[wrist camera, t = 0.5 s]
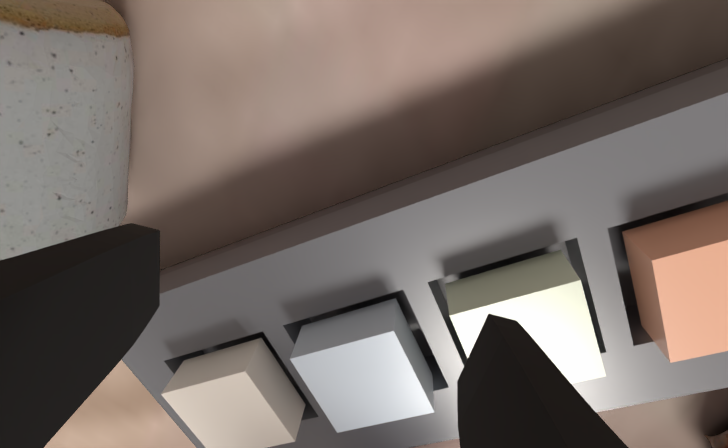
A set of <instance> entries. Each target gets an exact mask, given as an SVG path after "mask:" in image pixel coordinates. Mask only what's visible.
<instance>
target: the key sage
mask: <svg viewBox="0 0 728 448" xmlns="http://www.w3.org/2000/svg"><path fill="white" fill-rule="evenodd" d="M445 286H446V294H447V302H448V309H449V316H450V318H451V321H452V323H453V325H454V328H455V330H456V332H457V335H458V337H459V339H460V342H461V344H462V347H463V349H464V351H465V354H466V356H467V358H468V357H469V355H470V353H471V350H472V348H473V346H474V344H475V342H476V340H477V337H478V335H479V333H480V331H481V329H482V327H483V325H484V322H485V320H486V318H487V316H488V314H492V315H496V316H500V317H504V318H508V319H512V320H516V321H517V322H518V323H519V324H520V325H521V326H522V327H523V328H524V329H525V330H526V331H527V332H528V334H529V335H530V336H531V337H532V338H533V339H534V340H535V342H536V343H537V344H538V345H539V346H540V348H541V349H542V350H543V351H544V352H545V353H546V355H547V356H548V357H549V358H550V359H551V361H552V362H553V363H554V364H555V365H556V367H557V368H558V369H559V370H560V371H561V373H562V374H563V375H564V376H565V377H566V378H567V380H568V381H569V382H570V383H571V384H572V383H577V382H582V381H587V380H591V379H596V378H601V377H606V374H605V370H604V366H603V362H602V358H601V355H600V351H599V347H598V343H597V340H596V336H595V332H594V328H593V324H592V321H591V317H590V313H589V309H588V306H587V302H586V298H585V294H584V290H583V287H582V283H581V280H580V278H579V277H578V275H577V274H576V272H575V271H574V269H573V268H572V266H571V265H570V263H569V262H568V260H567V259H566V257H565V256H564V254H563V253H562V251H561V250H558V251H554V252H551V253H548V254H544V255H541V256H537V257H534V258H531V259H527V260H524V261H520V262H517V263H514V264H510V265H507V266H503V267H500V268H497V269H493V270H490V271H486V272H483V273H480V274H476V275H473V276H469V277H466V278H463V279H459V280H456V281H452V282H449V283H446V284H445Z"/></svg>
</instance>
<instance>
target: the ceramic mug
mask: <svg viewBox="0 0 728 448" xmlns="http://www.w3.org/2000/svg"><path fill="white" fill-rule="evenodd" d="M133 79H134V61H133V53H132V45H131V39H130V34H129V29H128V27H127V25H126V23H125V21H124V19H123V18H122V17H121V15H120V14H119V13H118V12H117V11H116V10H115V9H114V8H113V7H112V6H111V5H109V4H107V3H105V2H104V1H102V0H0V260H4V259H7V258H11V257H15V256H18V255H21V254H25V253H28V252H31V251H35V250H38V249H42V248H45V247H48V246H52V245H55V244H58V243H62V242H65V241H68V240H72V239H75V238H78V237H82V236H85V235H89V234H92V233H95V232H99V231H103V230H106V229H110V228H114V227H118V226H119V225H120V224H121V222H122V221H123V219H124V217H125V215H126V212H127V204H128V170H129V154H130V132H131V106H132V94H133Z"/></svg>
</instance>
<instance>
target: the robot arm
mask: <svg viewBox="0 0 728 448" xmlns="http://www.w3.org/2000/svg"><path fill="white" fill-rule="evenodd" d="M159 306H160V230H156V229H152V228H148V227H144V226H140V225H136V224H132V223H131V224H127V225H122V226H118V227H114V228H110V229H106V230H103V231H99V232H95V233H92V234H89V235H85V236H82V237H78V238H75V239H72V240H68V241H65V242H62V243H58V244H55V245H52V246H48V247H45V248H42V249H38V250H35V251H31V252H28V253H25V254H21V255H18V256H15V257H11V258H7V259H4V260H0V448H44V447H45V445H46V444H47V443H48V442H49V441H50V439H51V438H52V437H53V436H54V435H55V434H56V433H57V432H58V430H59V429H60V428H61V427H62V426H63V425H64V424H65V422H66V421H67V420H68V419H69V418H70V417H71V416H72V415H73V413H74V412H75V411H76V410H77V409H78V408H79V407H80V406H81V404H82V403H83V402H84V401H85V400H86V399H87V398H88V397H89V395H90V394H91V393H92V392H93V391H94V390H95V389H96V388H97V386H98V385H99V384H100V383H101V382H102V381H103V380H104V379H105V377H106V376H107V375H108V374H109V373H110V372H111V371H112V369H113V368H114V367H115V366H116V365H117V364H118V362H119V361H120V360H121V359H122V358H123V357H124V356H125V354H126V353H127V352H128V351H129V350H130V349H131V347H132V346H133V345H134V343H135V342H136V341H137V339H138V338H139V336H140V335H141V333H142V332H143V331H144V329H145V328H146V326H147V325H148V323H149V322H150V320H151V319H152V317H153V315H154V314H155V312H156V311H157V309H158V308H159ZM457 412H458V432H459V440H460V448H628V447H627V446H626V445H625V444H624V443H623V441H622V440H621V439H620V438H619V437H618V436H617V435H616V434H615V433H614V432H613V431H612V430H611V429H610V428H609V426H608V425H607V424H606V423H605V422H604V421H603V420H602V419H601V418H600V416H599V415H598V414H597V413H596V412H595V411H594V410H593V409H592V407H591V406H590V405H589V404H588V403H587V402H586V401H585V399H584V398H583V397H582V396H581V395H580V394H579V393H578V391H577V390H576V389H575V388H574V387H573V386H572V384H571V383H570V382H569V381H568V380H567V378H566V377H565V376H564V375H563V374H562V373H561V371H560V370H559V369H558V368H557V367H556V365H555V364H554V363H553V362H552V361H551V359H550V358H549V357H548V356H547V355H546V353H545V352H544V351H543V350H542V349H541V348H540V346H539V345H538V344H537V343H536V342H535V340H534V339H533V338H532V337H531V336H530V335H529V334H528V332H527V331H526V330H525V329H524V328H523V327H522V326H521V325H520V324H519V323H518V322H517V321H516V320H512V319H508V318H504V317H500V316H496V315H492V314H488V316H487V318H486V320H485V322H484V325H483V327H482V329H481V331H480V333H479V335H478V337H477V340H476V342H475V344H474V346H473V348H472V350H471V353H470V355H469V357H468V359H467V361H466V363H465V366H464V368H463V370H462V372H461V374H460V376H459V378H458V381H457Z"/></svg>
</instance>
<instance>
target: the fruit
mask: <svg viewBox="0 0 728 448" xmlns="http://www.w3.org/2000/svg"><path fill="white" fill-rule="evenodd" d="M705 436H706V435H705ZM706 437H707V438H708V440H709V442H710V443H711V446H712V448H728V430H727V431H725V432H723V433H721V434H719V435H716V436H710V437H709V436H706Z"/></svg>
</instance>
